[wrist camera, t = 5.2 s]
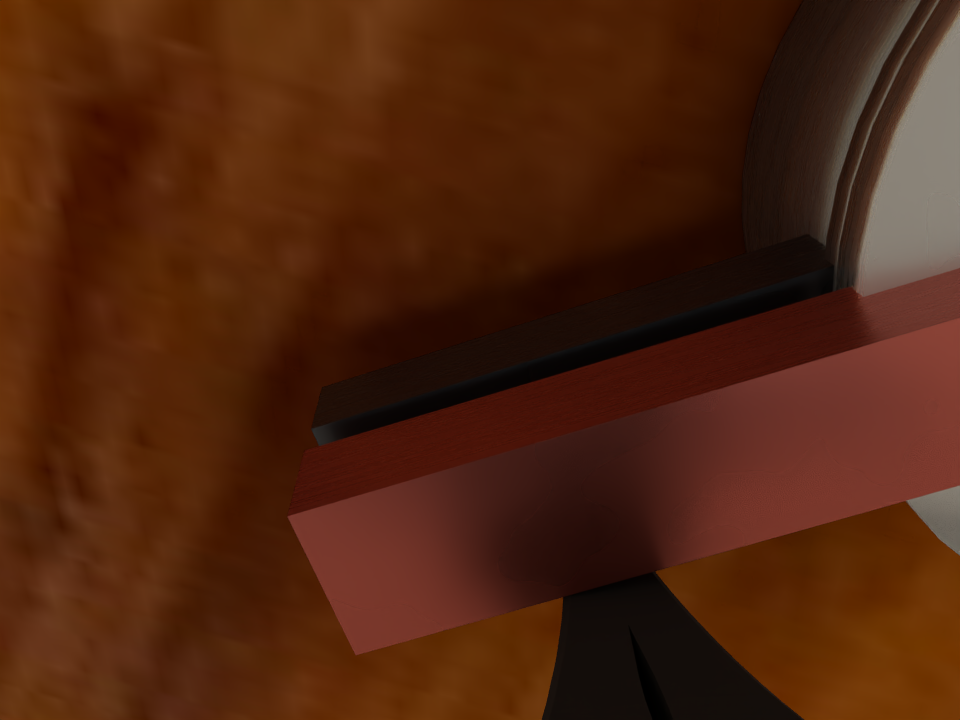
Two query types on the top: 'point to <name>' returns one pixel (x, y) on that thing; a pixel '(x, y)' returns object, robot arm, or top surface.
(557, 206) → the top surface
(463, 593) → the lid
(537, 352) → the pot
